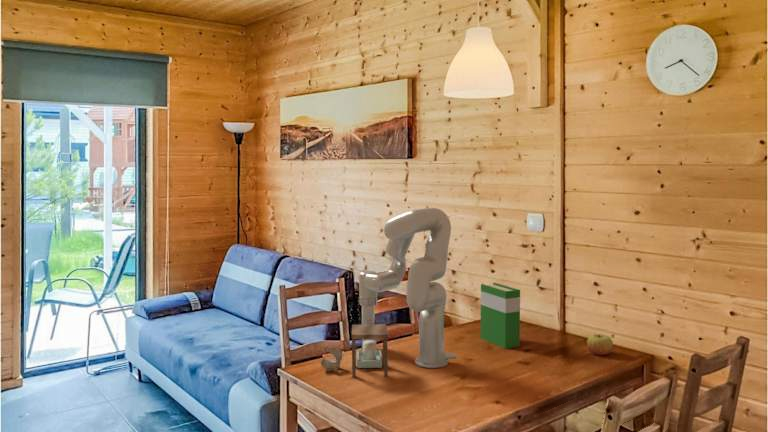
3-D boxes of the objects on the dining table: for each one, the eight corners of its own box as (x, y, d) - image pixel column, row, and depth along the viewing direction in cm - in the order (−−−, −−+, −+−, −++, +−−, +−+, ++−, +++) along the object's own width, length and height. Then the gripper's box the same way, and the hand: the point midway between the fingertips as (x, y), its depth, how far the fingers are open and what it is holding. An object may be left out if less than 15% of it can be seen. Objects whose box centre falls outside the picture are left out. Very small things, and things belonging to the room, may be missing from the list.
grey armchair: (380, 348, 256) (380, 336, 256) (382, 367, 233) (381, 354, 233) (357, 349, 256) (357, 337, 255) (357, 368, 233) (357, 354, 232)
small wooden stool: (386, 364, 237) (386, 324, 236) (387, 377, 224) (387, 334, 222) (352, 365, 237) (352, 324, 236) (352, 378, 223) (351, 335, 222)
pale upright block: (376, 357, 242) (376, 339, 241) (376, 361, 237) (376, 343, 236) (363, 357, 242) (363, 340, 241) (362, 361, 237) (362, 344, 236)
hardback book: (480, 337, 273) (480, 284, 271) (494, 335, 276) (494, 282, 274) (505, 348, 257) (505, 291, 255) (519, 346, 260) (520, 290, 258)
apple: (585, 355, 247) (586, 336, 246) (587, 348, 256) (588, 329, 255) (612, 358, 243) (612, 338, 242) (612, 351, 252) (613, 332, 251)
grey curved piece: (325, 372, 225) (321, 345, 230) (319, 376, 231) (316, 350, 235) (347, 370, 229) (343, 343, 233) (341, 374, 234) (337, 348, 238)
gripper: (359, 297, 264) (360, 339, 266) (359, 305, 249) (359, 349, 251) (377, 296, 264) (377, 338, 266) (377, 304, 249) (378, 349, 251)
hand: (368, 343), depth 258 cm, fingers closed
